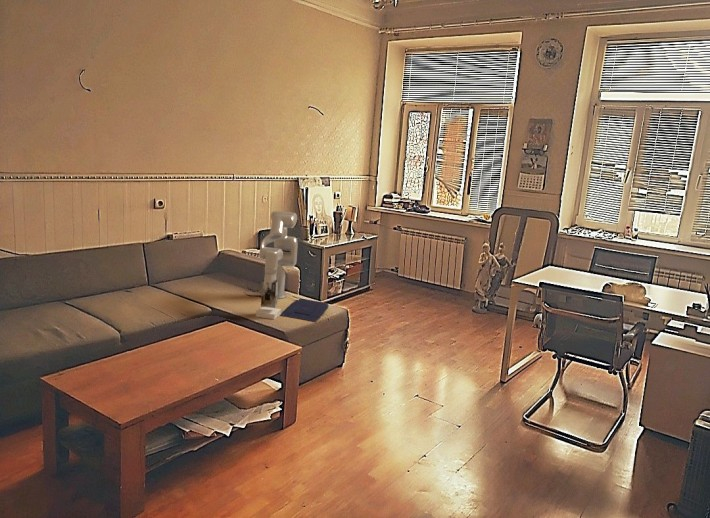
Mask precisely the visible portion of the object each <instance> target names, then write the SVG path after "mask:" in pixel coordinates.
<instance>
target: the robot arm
mask: <svg viewBox="0 0 710 518" xmlns="http://www.w3.org/2000/svg"><path fill="white" fill-rule="evenodd" d="M270 219H271V225H270V231H269V234H267V235H266V236H265V237H264V238H263V240H261V243H260V247H259V248H260V249H259V253H258V254H259V258H260V259H261V260H264V261H265V263H264V278H263V280H264V286H263V289H265V300H268V301H269V300H270V290H271V289H272V283H273V282H274V281H276V280H277V281H278V297H277V300H278V299H280V300H281V299H284V298H286V297H287V293H285V287H286V285H285V284H286V283H285V282H286V270H285V268H284V267H295V266H296V264H297V261H298V238H297V237H295V236H288V229H294V228H295V226H296V224H297V221H298V215H297V213H296V212H291V211H281V210H276V211H271V213H270ZM270 243H273V246H274V247H268V246H267V245H268V244H270ZM266 246H267V247H266ZM283 266H284V267H283ZM268 288H270V289H268ZM267 290H269V292H268V291H267Z"/></svg>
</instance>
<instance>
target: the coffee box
mask: <svg viewBox="0 0 710 518" xmlns="http://www.w3.org/2000/svg"><path fill="white" fill-rule="evenodd" d="M263 286H264V279H263V280H262V281H261V293H260V294H261V296H260V298H261V299H260V308H262V307H270V308H277V306H278V299H277V297H278V281H277V280H276V281H274V282H273V283H272V289H271V290H270V300H269V301H268V300H265V289H263ZM268 289H270V288H268ZM267 291H268V292H269V290H267Z"/></svg>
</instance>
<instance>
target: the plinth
mask: <svg viewBox="0 0 710 518" xmlns="http://www.w3.org/2000/svg"><path fill="white" fill-rule="evenodd" d="M281 313H282V308H277V307H275V308H270V307H260V308H259V309H258V310H256V311H255V317H257V318H263V319H271V320H275V319H277V316H278V317H279V316H281Z"/></svg>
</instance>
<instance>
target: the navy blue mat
mask: <svg viewBox="0 0 710 518" xmlns="http://www.w3.org/2000/svg"><path fill="white" fill-rule="evenodd" d="M329 304H330V303H329V302H324V301H317V300H312V299H307V298H299V299H296V300H294V301H293V302H291V303H290V304H289V305H288V306H287V307H286V308H285V309H284V310H283V311H281V314H280V316H282V317H289V318H294V319H298V320H299V319H300V320H304V321H305V320H306V321H310V322H314V323H315V322H317V321H318V320H319V319H320V318H321V317H322V315H323V314H324V313H325V312H326V311H327V310H328V308H329V306H330V305H329Z"/></svg>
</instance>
